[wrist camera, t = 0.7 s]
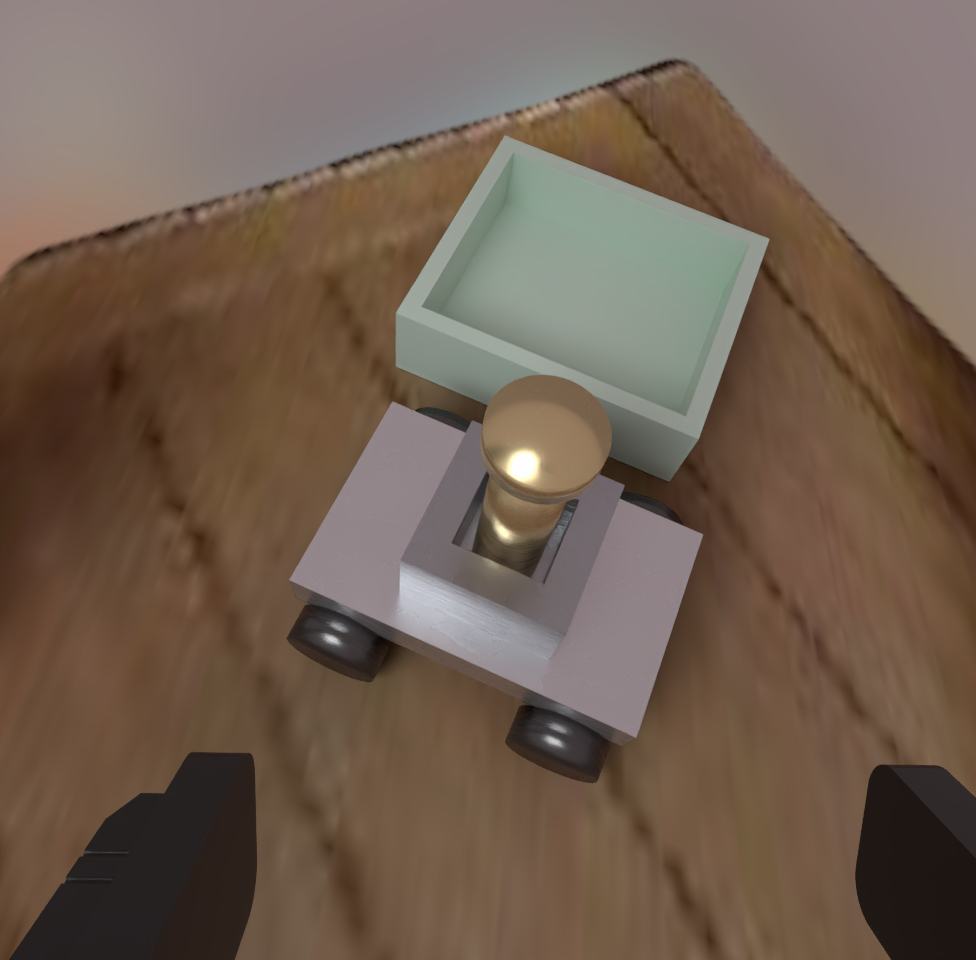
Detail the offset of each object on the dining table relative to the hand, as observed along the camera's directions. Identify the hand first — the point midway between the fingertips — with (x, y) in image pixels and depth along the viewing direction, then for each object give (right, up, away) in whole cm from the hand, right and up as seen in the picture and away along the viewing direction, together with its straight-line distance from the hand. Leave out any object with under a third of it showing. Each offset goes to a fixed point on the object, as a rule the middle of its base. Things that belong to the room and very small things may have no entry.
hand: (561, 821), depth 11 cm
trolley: (-1, -2, +31) cm, 31 cm away
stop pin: (0, +1, +26) cm, 26 cm away
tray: (+4, +14, +40) cm, 42 cm away
